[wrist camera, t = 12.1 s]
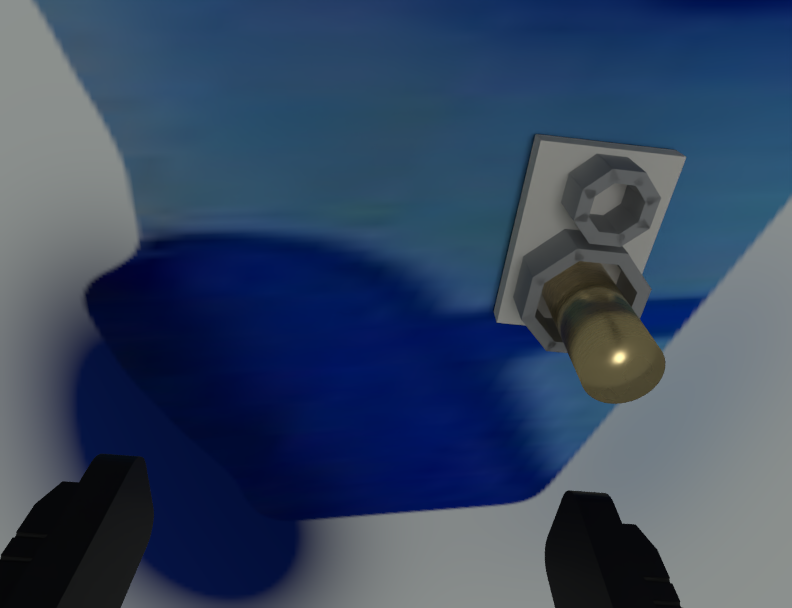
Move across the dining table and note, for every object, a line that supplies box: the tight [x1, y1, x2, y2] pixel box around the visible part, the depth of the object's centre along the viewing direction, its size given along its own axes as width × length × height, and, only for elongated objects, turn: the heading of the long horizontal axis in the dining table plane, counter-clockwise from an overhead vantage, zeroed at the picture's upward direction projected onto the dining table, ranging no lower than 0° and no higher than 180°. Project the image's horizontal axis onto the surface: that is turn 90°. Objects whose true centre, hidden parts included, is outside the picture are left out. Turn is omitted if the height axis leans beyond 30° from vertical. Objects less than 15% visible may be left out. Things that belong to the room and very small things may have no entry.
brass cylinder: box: [542, 261, 665, 404], centre depth 34 cm, size 4×4×10 cm
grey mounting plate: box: [494, 134, 686, 353], centre depth 37 cm, size 13×9×4 cm
